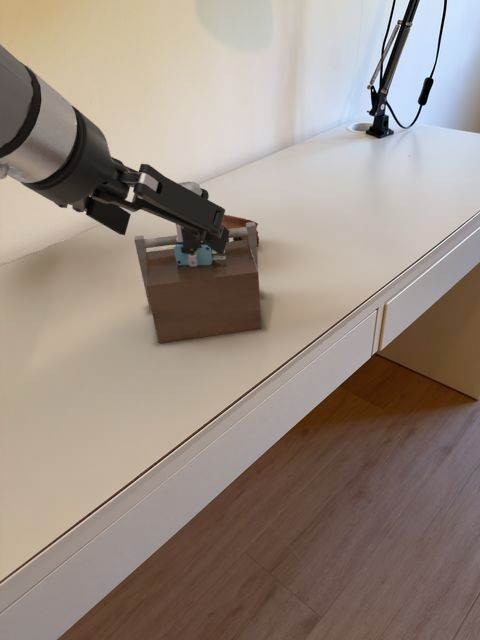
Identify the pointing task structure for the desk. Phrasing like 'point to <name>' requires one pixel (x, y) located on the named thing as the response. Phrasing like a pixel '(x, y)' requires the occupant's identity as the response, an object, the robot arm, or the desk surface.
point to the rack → (202, 288)
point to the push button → (193, 239)
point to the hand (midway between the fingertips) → (172, 233)
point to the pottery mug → (237, 226)
